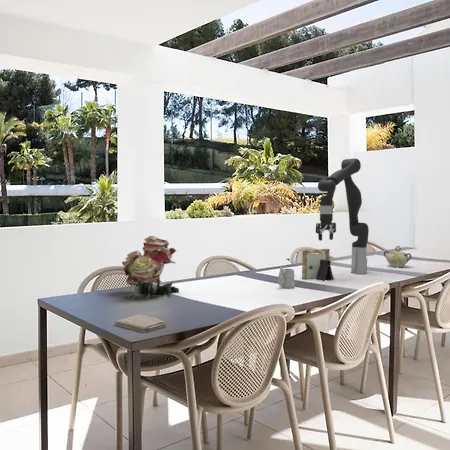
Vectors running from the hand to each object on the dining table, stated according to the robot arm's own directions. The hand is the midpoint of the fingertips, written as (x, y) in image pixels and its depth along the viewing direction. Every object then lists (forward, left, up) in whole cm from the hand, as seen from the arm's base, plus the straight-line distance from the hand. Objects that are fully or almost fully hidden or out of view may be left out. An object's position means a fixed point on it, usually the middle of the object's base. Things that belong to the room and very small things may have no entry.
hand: (325, 240), depth 299 cm
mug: (+37, +9, -24) cm, 45 cm away
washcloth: (+136, +44, -25) cm, 145 cm away
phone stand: (0, 0, -24) cm, 24 cm away
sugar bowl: (-83, -15, -24) cm, 88 cm away
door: (+1, -6, -24) cm, 25 cm away
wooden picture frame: (+1, -7, -24) cm, 25 cm away
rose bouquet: (+111, -8, -24) cm, 114 cm away
